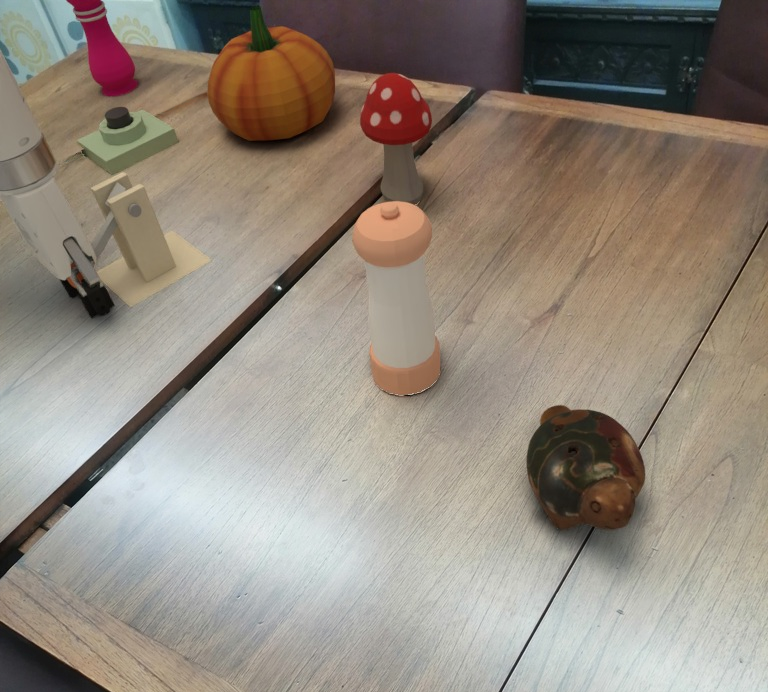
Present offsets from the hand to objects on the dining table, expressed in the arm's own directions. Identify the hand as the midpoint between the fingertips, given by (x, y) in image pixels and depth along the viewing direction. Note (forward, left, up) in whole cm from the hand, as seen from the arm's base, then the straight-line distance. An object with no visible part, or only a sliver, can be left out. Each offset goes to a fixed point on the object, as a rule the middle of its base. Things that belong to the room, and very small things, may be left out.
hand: (94, 304), depth 86 cm
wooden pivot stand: (+9, 0, 0) cm, 9 cm away
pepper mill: (+31, +49, -1) cm, 58 cm away
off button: (+23, +32, +3) cm, 39 cm away
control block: (+23, +32, 0) cm, 39 cm away
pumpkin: (+43, +19, -1) cm, 47 cm away
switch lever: (+5, 0, +5) cm, 8 cm away
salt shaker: (+19, -37, -1) cm, 41 cm away
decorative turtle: (+19, -60, -1) cm, 63 cm away
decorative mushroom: (+41, -12, -1) cm, 42 cm away
